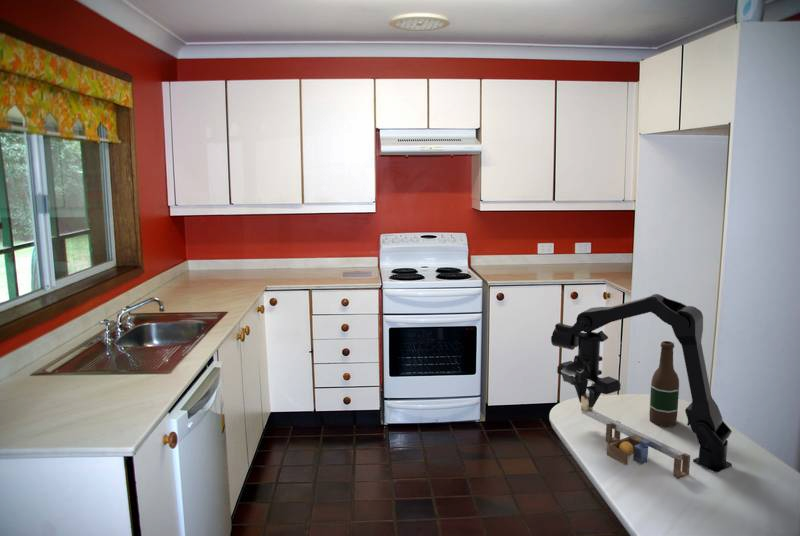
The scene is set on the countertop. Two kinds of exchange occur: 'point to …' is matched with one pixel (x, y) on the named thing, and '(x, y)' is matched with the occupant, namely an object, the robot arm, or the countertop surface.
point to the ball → (626, 447)
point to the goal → (619, 454)
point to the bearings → (677, 461)
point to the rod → (630, 435)
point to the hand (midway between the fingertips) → (586, 404)
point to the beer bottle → (664, 389)
